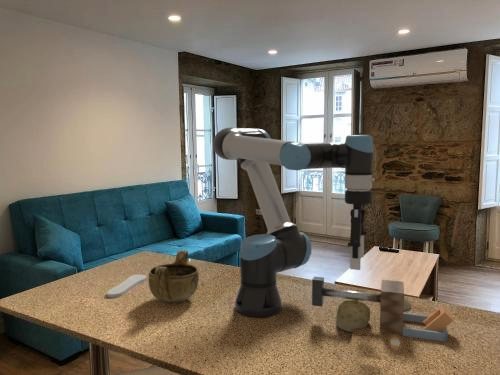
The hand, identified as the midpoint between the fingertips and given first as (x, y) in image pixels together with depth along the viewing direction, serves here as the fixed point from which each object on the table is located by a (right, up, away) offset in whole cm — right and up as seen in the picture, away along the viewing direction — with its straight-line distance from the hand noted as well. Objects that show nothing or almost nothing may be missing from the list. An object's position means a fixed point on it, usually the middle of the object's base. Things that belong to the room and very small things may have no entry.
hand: (357, 262), depth 118 cm
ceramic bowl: (-57, -17, +22) cm, 64 cm away
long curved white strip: (-77, -16, +36) cm, 87 cm away
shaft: (-2, -14, +2) cm, 14 cm away
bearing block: (+9, -19, -1) cm, 21 cm away
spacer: (+19, -18, -5) cm, 26 cm away
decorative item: (-1, -19, +1) cm, 19 cm away
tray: (+17, -19, -4) cm, 26 cm away
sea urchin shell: (+16, -18, +14) cm, 28 cm away
